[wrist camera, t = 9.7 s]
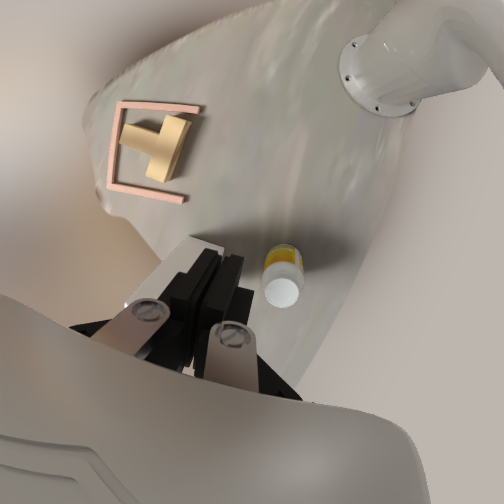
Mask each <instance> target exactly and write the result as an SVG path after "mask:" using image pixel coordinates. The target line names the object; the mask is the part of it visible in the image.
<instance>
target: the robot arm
mask: <svg viewBox="0 0 504 504" xmlns="http://www.w3.org/2000/svg"><path fill="white" fill-rule="evenodd" d="M352 45H354V46H355V47H353V46H352ZM488 67H490V69H491V71H492V72H493V74H494V75H495V77H496V78H497V80H499V82H500V83H501V85H502V87H503V89H504V0H399V1H398V2H397V3H396V4H395V5H394V6H393V8H392V9H391V10H390V11H389V12H388V13H387V15H386V16H385V17H384V18H383V19H382V21H381V22H380V23H379V24H378V25H377V27H376V28H375V29H374V30H373V31H372V33H371V34H364V35H361V36H358V37H356V38H354V39H352V40H351V41H350V42H349V43H348V44H347V45H346V46H345V48H344V49H343V51H342V53H341V55H340V59H339V73H340V78H341V81H342V83H343V85H344V87H345V89H346V91H347V92H348V94H349V95H350V96H351V97H352V99H353V100H354V101H355V102H356V103H358V104H359V105H360V106H361V107H362V108H364V109H366V110H367V111H369V112H371V113H373V114H376V115H379V116H383V117H399V116H403V115H406V114H408V113H410V112H412V111H413V110H414V109H415V108H416V107H417V106H418V105H419V103H420V102H421V100H422V99H423V98H427V97H431V96H436V95H440V94H444V93H449V92H454V91H458V90H463V89H466V88H469V87H472V86H473V85H475V84H476V83H478V82H479V81H480V80H481V78H482V77H483V76H484V75H485V73H486V71H487V69H488ZM345 78H348V79H349V81H346V79H345ZM410 103H411V105H410ZM375 107H377V108H378V110H377V111H376V109H375ZM221 260H222V255H219V254H218V251H217V250H212V249H208V248H205V249H204V250H203V251H202V253H201V254H200V255H199V257H198V258H197V260H196V261H195V262H194V264H193V265H192V266H191V268H190V269H189V271H188V272H187V273H183V272H178V273H177V274H176V275H175V277H174V278H173V279H172V280H171V282H170V283H169V284H168V286H167V287H166V288H165V289H164V291H163V292H162V293H161V295H160V296H159V297H158V299H153V298H141V299H138V300H135V301H134V302H132V303H131V304H129V305H128V306H127V307H126V308H125V309H123V310H122V311H121V312H120V313H119V314H117V315H116V316H115V317H114V318H113V319H110V320H104V321H98V322H92V323H86V324H80V325H75V326H71V327H69V328H68V327H66V326H64V325H62V324H60V323H58V322H56V321H54V320H52V319H51V318H48V317H47V316H45V315H43V314H41V313H39V312H38V311H36V310H34V309H32V308H30V307H28V306H26V305H24V304H22V303H21V302H19V301H17V300H15V299H12V298H10V297H8V296H5V295H2V294H0V504H430V496H429V491H428V487H427V482H426V477H425V473H424V469H423V466H422V462H421V459H420V456H419V454H418V451H417V449H416V446H415V444H414V442H413V441H412V439H411V437H410V436H409V435H408V434H407V432H406V431H405V430H403V429H402V428H401V427H399V426H398V425H396V424H394V423H393V422H391V421H389V420H386V419H383V418H381V417H378V416H376V415H373V414H369V413H366V412H362V411H358V410H353V409H348V408H343V407H337V406H330V405H323V404H316V403H314V402H312V403H310V402H305V401H303V400H302V398H301V397H300V396H299V395H298V394H297V393H296V392H295V391H294V390H293V389H292V388H291V387H290V386H289V385H288V384H287V383H286V382H285V381H284V380H283V379H282V378H281V377H280V376H279V375H278V374H277V373H276V372H275V371H274V370H273V369H272V368H271V367H270V366H269V365H268V364H267V363H266V362H265V361H264V360H263V359H262V358H261V357H260V356H259V355H258V354H257V351H256V338H255V334H254V333H253V331H252V330H251V329H250V328H249V327H247V322H248V317H249V313H250V308H251V304H252V299H253V295H254V291H253V290H249V289H245V288H241V287H238V284H239V279H240V275H241V270H242V265H243V261H244V257H241V256H237V255H233V254H231V256H230V257H227V256H226V257H225V258H224V260H223V262H222V264H221ZM193 357H194V362H193V369H195V371H194V376H195V377H193V376H190V375H187V374H183V373H182V371H183V368H184V366H185V367H189V366H190V364H191V362H192V359H193Z"/></svg>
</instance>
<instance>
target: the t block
mask: <svg viewBox="0 0 504 504" xmlns="http://www.w3.org/2000/svg"><path fill="white" fill-rule="evenodd" d="M191 124H192V122H191V121H188V120H185V119H182V118H179V117H176V116H172V115H166V118H165V120H164V123H163V125H162V128H161V131H160V133H159V132H156V131H153V130H150V129H147V128H144V127H141V126H138V125H135V124H125V125H124V128H123V131H122V134H121V137H120V141H119V143H120V144H122V145H125V146H128V147H131V148H133V149H136V150H139V151H141V152H144V153H147V154H149V155H152V157H151V160H150V163H149V166H148V169H147V172H146V176H148V177H150V178H153V179H155V180H158V181H160V182H162V183H165V182H167V181H170V180H171V177H172V174H173V171H174V168H175V166H176V163H177V160H178V157H179V155H180V152H181V149H182V147H183V144H184V141H185V139H186V136H187V134H188V131H189V129H190V126H191Z"/></svg>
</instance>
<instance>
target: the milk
mask: <svg viewBox="0 0 504 504" xmlns="http://www.w3.org/2000/svg"><path fill="white" fill-rule="evenodd" d="M205 248H208V249H212V250H217V251H218V254H219V255H222V256H223V253H224V249H225V248H224V247H221V246H218V245H214V244H211V243H208V242H205V241H202V240H199V239H196V238H193V237H190V236H187V237H186V238H185V239H184V240H183V241H182V242H181V243H180V244H179V245H178V246H177V247H176V248H175V249H174V250H173V251H172V252H171V253H170V254H169V255H168V257H167V258H166V259H165V260H164V261H163V262H162V263H161V264H160V265H159V266H158V267H157V268H156V269H155V270H154V271H153V272H152V273H151V275H150V276H149V277H148V278H147V279H146V280H145V281H144V282H143V283H142V284H141V285H140V286H139V287H138V289H137V290H136V291H135V292H134V293H133V294H132V295H131V296H130V297H129V299H128V300H127V301H126V302H125V308H126V307H127V306H128V305H129V304H131V303H132V302H134V301H135V300H138V299H141V298H153V299H158V297H159V296H160V295H161V293H162V292H163V291H164V289H165V288H166V287H167V286H168V284H169V283H170V282H171V280H172V279H173V278H174V277H175V275H176V274H177V273H178V272H183V273H187V272H188V271H189V269H190V268H191V266H192V265H193V264H194V262H195V261H196V260H197V258H198V257H199V255H200V254H201V253H202V251H203V250H204V249H205Z"/></svg>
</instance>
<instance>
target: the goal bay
mask: <svg viewBox="0 0 504 504" xmlns="http://www.w3.org/2000/svg"><path fill="white" fill-rule="evenodd" d="M124 108H131V109H150V110H164V111H175V112H185V113H194V114H199V112H200V108H201V107H197V106H188V105H178V104H165V103H149V102H117V105H116V111H115V116H114V122H113V129H112V136H111V143H110V152H109V161H108V172H107V185H106V189H109V190H114V191H119V192H125V193H130V194H135V195H140V196H145V197H150V198H155V199H159V200H164V201H169V202H174V203H178V204H183V203H184V198H185V196H180V195H175V194H170V193H165V192H160V191H155V190H150V189H145V188H140V187H134V186H129V185H123V184H118V183H114V179H115V168H116V158H117V150H118V142H119V135H120V128H121V122H122V116H123V110H124Z"/></svg>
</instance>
